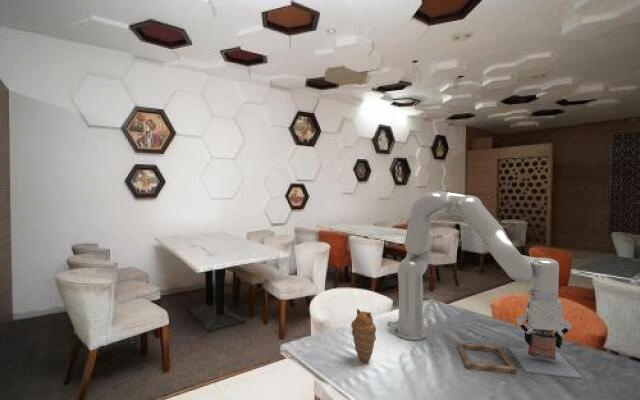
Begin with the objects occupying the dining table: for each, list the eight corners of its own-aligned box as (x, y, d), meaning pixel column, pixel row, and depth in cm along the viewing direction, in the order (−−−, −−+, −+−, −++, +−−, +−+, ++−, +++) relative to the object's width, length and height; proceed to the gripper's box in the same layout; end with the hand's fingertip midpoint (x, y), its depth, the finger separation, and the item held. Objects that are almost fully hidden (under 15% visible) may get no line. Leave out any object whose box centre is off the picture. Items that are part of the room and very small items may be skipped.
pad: (526, 372, 105) (526, 371, 105) (508, 348, 121) (508, 347, 121) (582, 378, 102) (582, 377, 102) (556, 353, 118) (557, 351, 118)
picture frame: (466, 368, 108) (466, 364, 108) (457, 346, 122) (457, 342, 122) (516, 374, 104) (516, 369, 104) (500, 350, 119) (500, 346, 119)
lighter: (553, 355, 112) (555, 328, 111) (556, 361, 109) (559, 332, 108) (526, 351, 115) (528, 324, 114) (529, 356, 112) (531, 328, 111)
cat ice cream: (347, 362, 112) (347, 310, 111) (359, 352, 118) (359, 304, 117) (370, 371, 106) (370, 317, 105) (381, 360, 113) (381, 309, 112)
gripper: (520, 296, 108) (519, 347, 109) (579, 300, 105) (578, 353, 106) (512, 289, 116) (510, 337, 117) (567, 293, 112) (565, 342, 113)
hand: (542, 344), depth 111 cm, fingers closed on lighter, 8 cm apart
